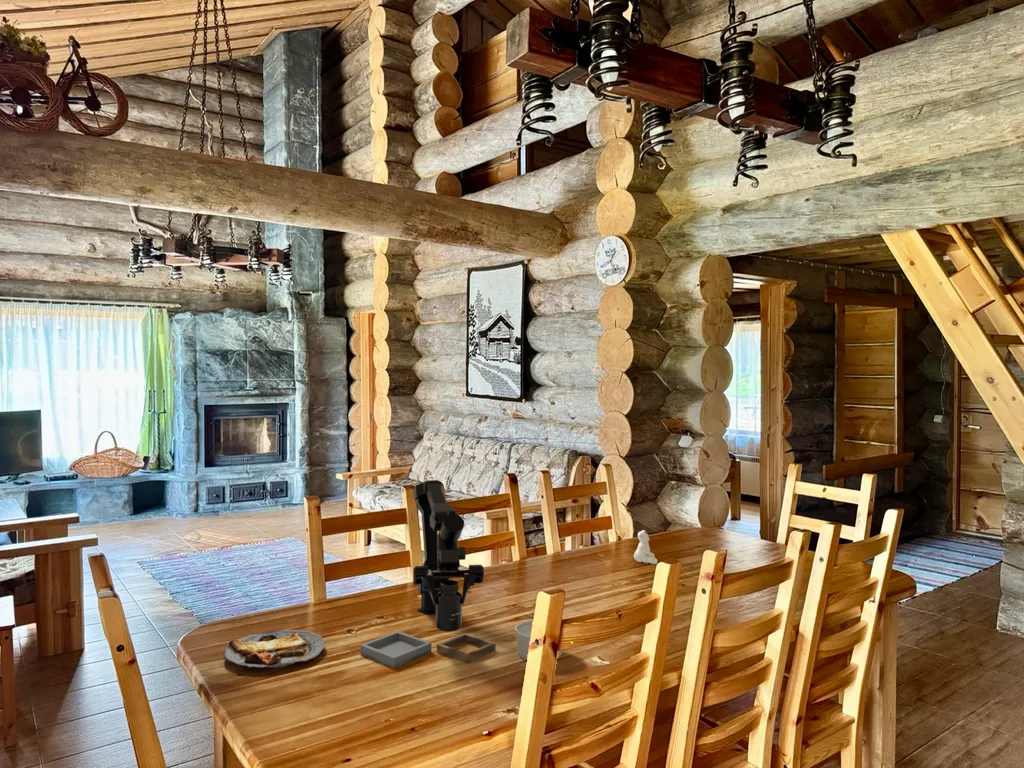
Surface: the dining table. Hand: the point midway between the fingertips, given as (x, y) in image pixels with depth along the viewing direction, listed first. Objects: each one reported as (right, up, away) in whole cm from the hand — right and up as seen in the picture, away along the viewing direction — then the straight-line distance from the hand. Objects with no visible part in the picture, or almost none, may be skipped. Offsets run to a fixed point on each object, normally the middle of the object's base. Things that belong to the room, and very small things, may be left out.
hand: (449, 604), depth 192 cm
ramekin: (+24, -14, +1) cm, 27 cm away
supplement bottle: (0, -7, +2) cm, 7 cm away
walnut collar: (+4, -13, +2) cm, 14 cm away
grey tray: (-14, -13, 0) cm, 19 cm away
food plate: (-45, -13, -1) cm, 47 cm away
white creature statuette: (+68, -11, +91) cm, 114 cm away
